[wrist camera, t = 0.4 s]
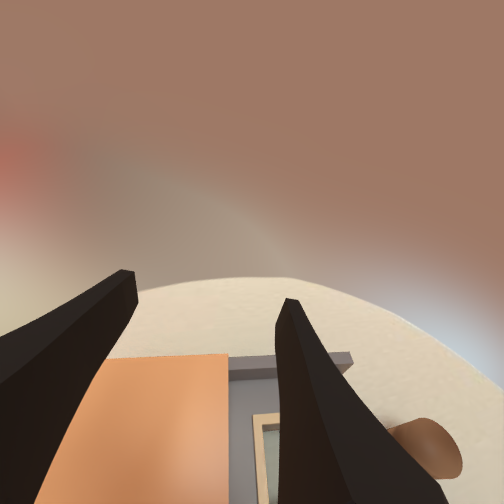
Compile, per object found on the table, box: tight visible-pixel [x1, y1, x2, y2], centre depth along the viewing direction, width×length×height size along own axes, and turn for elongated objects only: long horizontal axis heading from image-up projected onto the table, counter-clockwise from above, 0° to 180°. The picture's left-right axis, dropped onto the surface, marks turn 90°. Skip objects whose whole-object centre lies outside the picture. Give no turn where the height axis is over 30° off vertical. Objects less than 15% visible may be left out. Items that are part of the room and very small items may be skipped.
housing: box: [228, 352, 354, 504], centre depth 20 cm, size 16×14×7 cm
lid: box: [34, 354, 229, 504], centre depth 15 cm, size 16×14×1 cm
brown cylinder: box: [387, 418, 462, 479], centre depth 21 cm, size 4×4×6 cm
